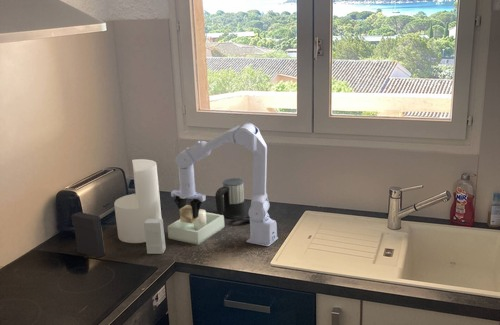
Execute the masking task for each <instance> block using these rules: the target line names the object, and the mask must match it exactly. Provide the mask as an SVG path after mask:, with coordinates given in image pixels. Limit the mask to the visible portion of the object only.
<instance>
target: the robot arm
mask: <svg viewBox="0 0 500 325" xmlns="http://www.w3.org/2000/svg"><path fill="white" fill-rule="evenodd" d="M227 143H231V144H233V145H234V144H238V145H239V146H242V147H243V148H246V149H248V150H249V151H250V152H252V196H251V201H250V207H249V209H248V215H249V217H250V222H249V227H250V228H249V230H250V237H249V238H248V239H247V240H246V243H249V244H254V245H258V246H264V247H270V246H271V245H272V244H273V243H275V242H276V241H277V240H278V239H279V237H278V227H277V226H278V223H277V221H276V220H274V219H272V218H271V217H270V214H269V213H268V211H269V209H270V207H271V205H270V204H271V203H270V201H269V199H268V193H267V167H268V165H267V163H268V162H267V161H268V160H267V158H268V157H267V156H268V145H267V143H266V142H265V139H264V138H263V136H262V134H261V131H260V129H259V128H258V127H257V126H256V125H254V123H251V122H244V123H243V124H241V125H236V126H234V127H232V128H229V129H228V130H226V131H224V132H223V133H221V134H219V135H217V136H216V137H214V138H212V139H211V140H209V141H204V140H201V141H200V140H198V141H196V142H195V144H194V145H191V146H190V147H186V148H184V149H183V150H181V151H180V152H179V153H178V154H177V155H176V157H175V159H174V160H175V161H174V162H175V164H176V166H177V168H178V183H179V190H172V191H171V192H170V196H171V197H175V198H174V199H173V201H174V203H175V204H176V206H177V208H178V210H179V209H181V208H182V207H184V206H186V205H187V200H191V201H190V202H189V205H191V207H192V211H193V218H197V217H198V213H199V209H201V206H202V203H203V202H205V201H207V199H206V198H207V196H206V194H203V193H199V192H197V191H196V182H195V167H194V163H197V162H199V161H200V160H203V159H204V158H206V157H208V156H210V155H211V152H212V151H213V150H214V149H216V148H218V147H221V146H223V145H225V144H227Z"/></svg>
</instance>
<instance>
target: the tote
mask: <svg viewBox="0 0 500 325" xmlns="http://www.w3.org/2000/svg"><path fill="white" fill-rule="evenodd" d="M206 220H207V225H206V226H204V227H202V228H201V229H199V230H198V231H197V230H195V229H194V222H193V223H186V222H181V221H180V218H179V219H177V220H176V221H174V222H172V223H171V224H169V225H167V234H168V235H167V236H168V239H170V240H174V241H180V242H184V243H188V244H193V245H199V246H200V244H203V243H204V242H205V241H207V240H208V239H209V238H210V237H212V236H214V235H216V234H217V233H218V232H220V231H221V230H223V229H225V216H224V214H223V215H220V214H218V213H213V212H207V211H206Z"/></svg>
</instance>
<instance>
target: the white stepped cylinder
mask: <svg viewBox="0 0 500 325" xmlns="http://www.w3.org/2000/svg"><path fill="white" fill-rule="evenodd" d="M131 162H132V173H133V182H134V190H135V193H132V194H127V195H124V196H121V197H119V198H117V199H115V201H114V203H113V204H114V205H113V207H114V213H115V220H116V230H117V237H118V240H120V241H121V242H124V243H127V244H128V243H129V244H141V243H142V244H143V243H146V238H145V229H144V222H145V221H146V220H147V219H163V218H162V210H161V208H162V207H161V199H160V198H161V197H160V189H159V188H160V186H159V176H158V166H157V162H156V161H155V160H152V159H146V158H140V159H137V158H136V159H132V160H131Z"/></svg>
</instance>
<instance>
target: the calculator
mask: <svg viewBox="0 0 500 325" xmlns="http://www.w3.org/2000/svg"><path fill="white" fill-rule="evenodd" d="M70 218H71V224H72V225H73V228H74V235H75V242H76V250H77V253H78V254H82V255H86V256H91V257H93V258H98V259H99V258H101V257H103V256H105V253H106V251H105V243H104V236H103V229H102V222H101V217H100V216H99V215H94V214H90V213H85V212H81V211H78V212H75V213H72V214H71V215H70Z"/></svg>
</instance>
